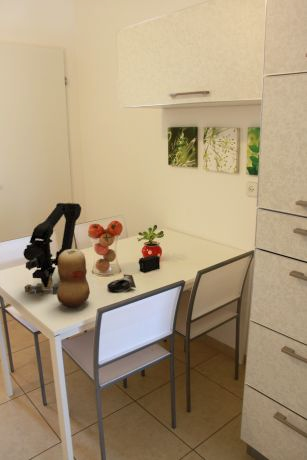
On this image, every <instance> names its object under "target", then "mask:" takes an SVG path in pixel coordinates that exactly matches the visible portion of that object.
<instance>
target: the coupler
mask: <svg viewBox="0 0 307 460" xmlns="http://www.w3.org/2000/svg"><path fill="white" fill-rule="evenodd" d="M49 274H50V278H49V282H48V285H47V287H44V285H43V283H42V280H41V279H40V283H41V285H42V290H43V291H44V290H45V291H46V290H48V291H49V290H52V286H53V285H54V283H53V276H52V273H49Z"/></svg>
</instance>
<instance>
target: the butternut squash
mask: <svg viewBox="0 0 307 460" xmlns="http://www.w3.org/2000/svg"><path fill="white" fill-rule="evenodd" d="M87 270H88V269H87V262H86V256H85V254H84V252H83V251H82V250H80V249H77V248H72V249H68V250H65V251H63V252H62V253H61V254H60V255H59V258H58V267H57V273H58V277H59V286H58V290H57V294H56V297H57V300H58V302H59V303H61V304H62V306H66V307H72V308H77V307H79V306H81V305H83V304H84V303H85V302H87V301H88V300H89V297H90V294H91V292H90V286H89V282H88V279H87V277H86V276H87V272H88V271H87Z"/></svg>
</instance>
